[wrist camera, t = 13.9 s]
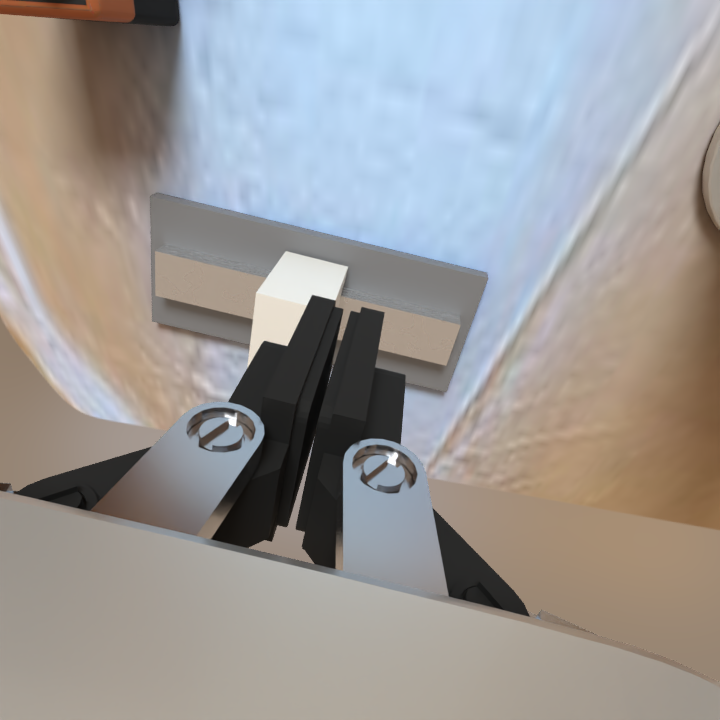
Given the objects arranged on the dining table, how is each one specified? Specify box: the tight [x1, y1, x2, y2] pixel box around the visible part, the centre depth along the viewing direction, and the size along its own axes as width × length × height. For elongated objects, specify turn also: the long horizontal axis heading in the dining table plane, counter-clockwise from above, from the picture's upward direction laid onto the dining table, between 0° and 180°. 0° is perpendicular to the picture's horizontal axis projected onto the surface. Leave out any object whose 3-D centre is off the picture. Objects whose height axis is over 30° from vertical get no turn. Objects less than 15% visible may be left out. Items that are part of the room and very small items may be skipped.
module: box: [247, 251, 348, 368], centre depth 35 cm, size 4×8×7 cm, turn 168°
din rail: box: [155, 244, 461, 366], centre depth 37 cm, size 22×4×2 cm, turn 78°
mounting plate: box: [150, 193, 488, 392], centre depth 38 cm, size 24×10×1 cm, turn 78°
